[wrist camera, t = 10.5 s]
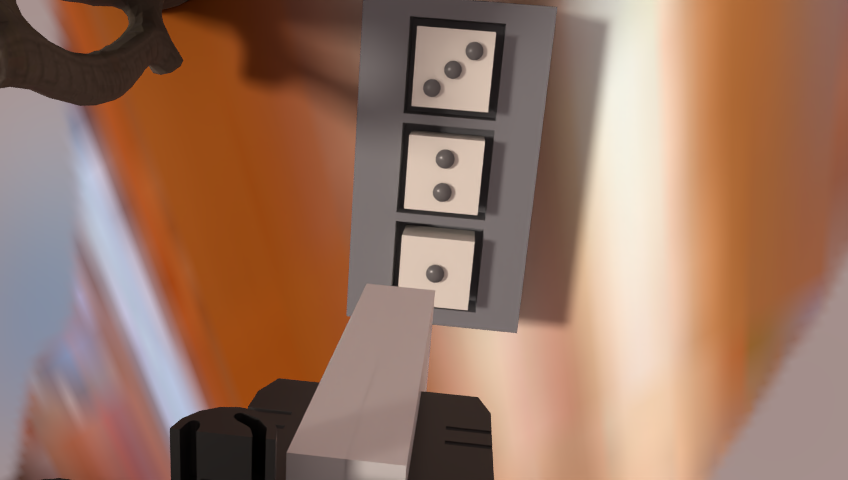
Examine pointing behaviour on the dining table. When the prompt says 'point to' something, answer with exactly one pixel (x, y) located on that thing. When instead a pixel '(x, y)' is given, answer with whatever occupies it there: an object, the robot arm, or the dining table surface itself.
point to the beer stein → (86, 55)
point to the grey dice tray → (501, 127)
